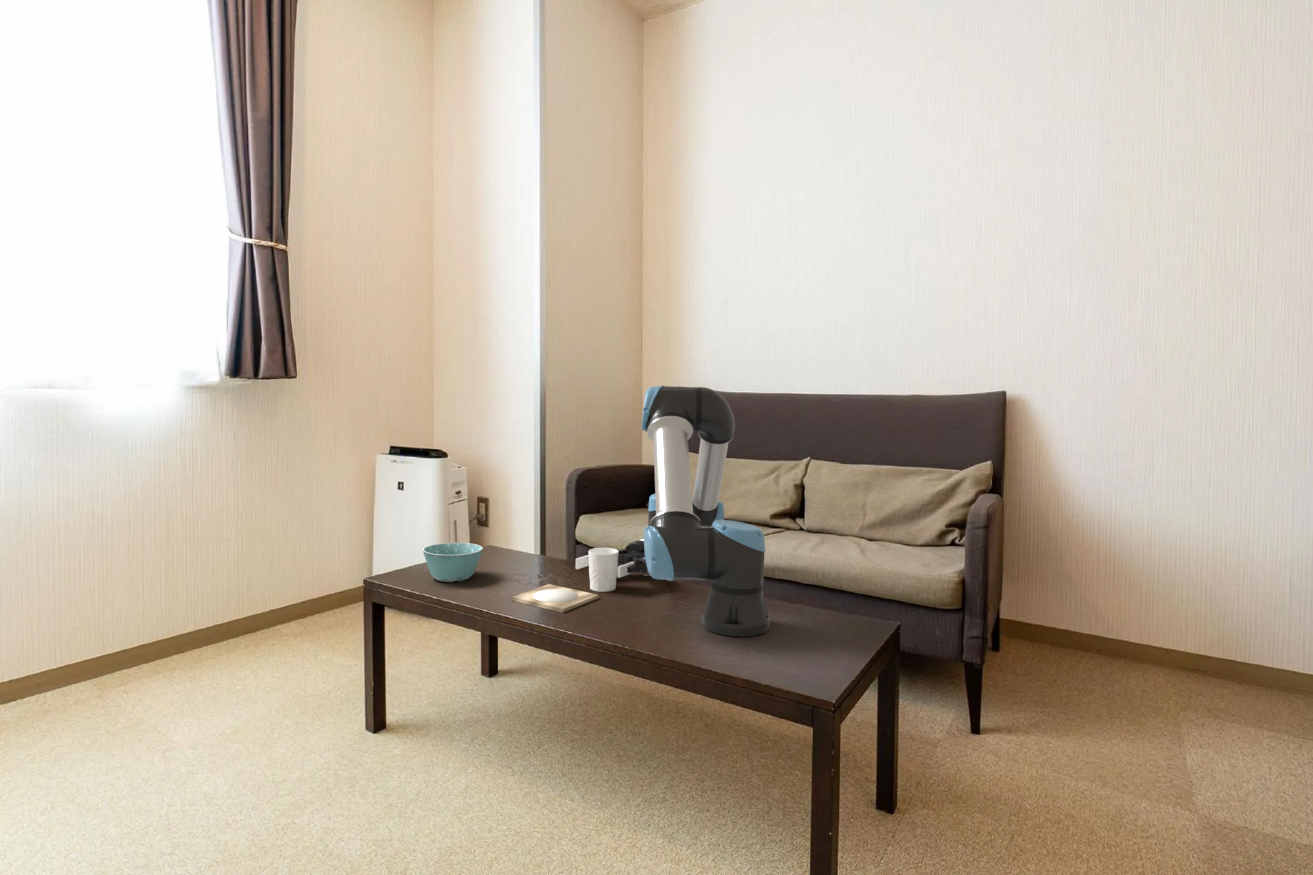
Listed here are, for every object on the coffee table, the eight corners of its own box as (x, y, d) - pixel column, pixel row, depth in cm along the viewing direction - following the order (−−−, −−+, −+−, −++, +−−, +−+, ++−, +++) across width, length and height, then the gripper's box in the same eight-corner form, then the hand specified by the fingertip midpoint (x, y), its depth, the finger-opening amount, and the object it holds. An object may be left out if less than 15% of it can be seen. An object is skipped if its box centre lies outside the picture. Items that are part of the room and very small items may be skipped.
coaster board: (598, 598, 178) (598, 594, 178) (562, 612, 166) (562, 608, 166) (549, 587, 186) (549, 583, 186) (511, 600, 174) (511, 596, 174)
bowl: (450, 567, 204) (450, 539, 203) (494, 575, 197) (494, 545, 196) (409, 580, 190) (409, 550, 189) (455, 589, 183) (455, 557, 182)
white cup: (619, 585, 190) (620, 548, 190) (615, 593, 182) (616, 555, 182) (590, 583, 191) (591, 546, 190) (585, 591, 183) (585, 553, 183)
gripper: (679, 572, 196) (637, 590, 178) (606, 559, 209) (559, 574, 191) (680, 545, 195) (637, 560, 177) (606, 534, 209) (560, 546, 191)
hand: (597, 567), depth 184 cm, fingers open, 13 cm apart
